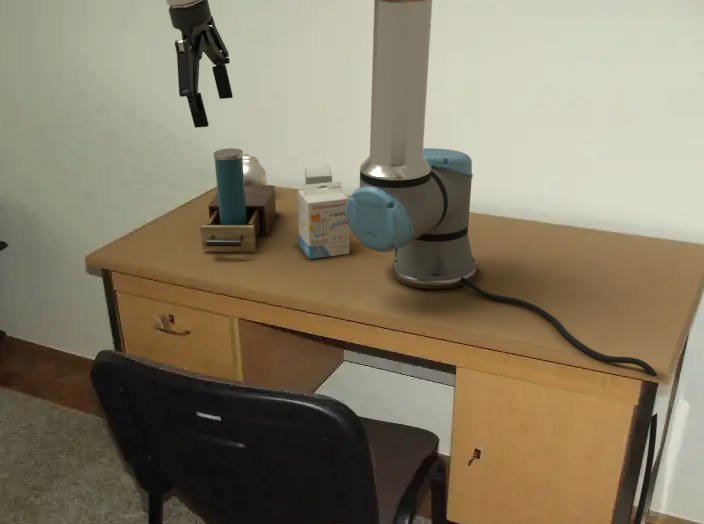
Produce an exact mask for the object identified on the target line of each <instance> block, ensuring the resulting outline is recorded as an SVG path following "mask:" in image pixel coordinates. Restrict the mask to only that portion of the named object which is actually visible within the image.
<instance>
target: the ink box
mask: <svg viewBox="0 0 704 524" xmlns="http://www.w3.org/2000/svg"><path fill="white" fill-rule="evenodd" d="M320 186H326V187H325V188H318V187H320ZM348 199H349V196H347V194H346V193H345V192H344V190H343V186H342V182H341V181H339V180H338V181H332V182H328V183H319V184H307V185H305V184H304V185H302V189H298V191H297V213H298V214H297V217H298V246H299V247H300V249H301V250H302V251H303V253H305V256H307V258H308V259H310V260H314V259H315V260H316V259H322V258H329V257H336V256H344V255H348V254H350V227H349V225H348V222H347V218H346V204H347V201H348Z"/></svg>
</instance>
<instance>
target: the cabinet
mask: <svg viewBox="0 0 704 524" xmlns="http://www.w3.org/2000/svg"><path fill="white" fill-rule="evenodd" d="M244 187H245V201H246V209H261V225H262V226H261V229H260V231H259V233H258V235H257V237H258V236H259V237H260V236H261V237H263V236H264V237H265V236H267V235H268V232H269V229H270V228H271V226H272V224H273V222H274V220H275V217H276V216H277V215H276V214H277V208H276V207H277V205H276V189H275V188H276V186H275V185H266V186H244ZM207 209H208V217H209V219H210V218H211V216H212V215H213V213H214V211H215V210H216V209H219V204H218V192H216V194H215V196H213V198H212V200H211V201H210V203H209V205H208V207H207Z"/></svg>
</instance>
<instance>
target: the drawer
mask: <svg viewBox="0 0 704 524" xmlns="http://www.w3.org/2000/svg"><path fill="white" fill-rule="evenodd" d="M246 215H247V225H220V215H219V209H216V210H215V211H214V213H213V215H212V216H211V218H209V220H208V221H207V223H206V224H201V226H200V237H201V245H202V246H201V247H202V250H246V251H249V250H251V251H252V250H254V251H255V250H256V239H257V237H258V236H257V235H258V233H259V231H260V229H261V226H262V225H261V209H246Z"/></svg>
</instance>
